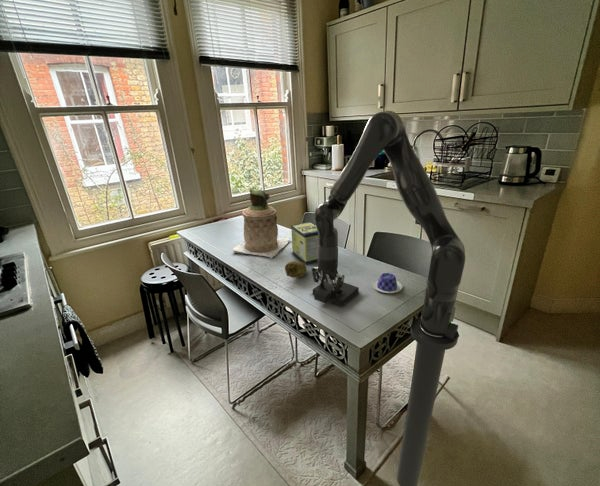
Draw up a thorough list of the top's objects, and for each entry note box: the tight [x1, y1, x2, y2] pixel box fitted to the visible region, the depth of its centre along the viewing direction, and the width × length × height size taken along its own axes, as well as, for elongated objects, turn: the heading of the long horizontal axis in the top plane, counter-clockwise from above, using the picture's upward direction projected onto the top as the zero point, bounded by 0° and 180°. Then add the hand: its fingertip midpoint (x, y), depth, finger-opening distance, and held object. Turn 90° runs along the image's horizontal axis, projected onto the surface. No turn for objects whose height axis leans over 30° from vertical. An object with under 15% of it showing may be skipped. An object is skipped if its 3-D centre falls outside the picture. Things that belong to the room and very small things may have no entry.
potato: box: [284, 260, 308, 278], centre depth 140 cm, size 8×13×8 cm, turn 131°
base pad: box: [312, 280, 360, 307], centre depth 127 cm, size 14×12×2 cm
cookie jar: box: [231, 189, 290, 259], centre depth 166 cm, size 25×25×32 cm
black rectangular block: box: [314, 283, 340, 304], centre depth 122 cm, size 5×10×3 cm, turn 140°
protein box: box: [290, 221, 318, 265], centre depth 157 cm, size 10×16×16 cm
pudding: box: [371, 272, 403, 294], centre depth 129 cm, size 12×12×5 cm
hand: (327, 294), depth 122 cm, fingers closed on black rectangular block, 5 cm apart
